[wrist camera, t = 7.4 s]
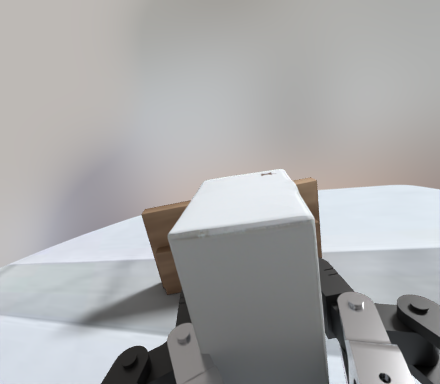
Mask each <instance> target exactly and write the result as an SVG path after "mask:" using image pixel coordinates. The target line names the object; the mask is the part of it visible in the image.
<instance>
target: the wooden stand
mask: <svg viewBox="0 0 440 384" xmlns="http://www.w3.org/2000/svg"><path fill="white" fill-rule="evenodd" d="M293 182H294V183H295V184H296V186H297V188H298V191H299V193H300V195H301V197H302V199H303V200H304V202H305V203H306V205H307V207H308V208H309V210H310V211H311V213H312V215H313V216H314V219H315V227H316V239H317V251H318V258H319V257H320V258H322V251H321V236H320V221H319V205H318V190H317V180H315V179H313V178H311V177H310V178H305V179H299V180H294V181H293ZM190 201H191V200H190ZM190 201H185V202H180V203H175V204H170V205H164V206H159V207H154V208H149V209H145V210H144V212H143V213H142V218H143V221H144V225H145V228H146V231H147V235H148V238H149V241H150V245H151V248H152V251H153V255H154V258H155V261H156V265H157V268H158V271H159V275H160V278H161V281H162V285H163V288H165V289H166V292H167V295H169V294H174V293H179V292H181V289H182V286H181V283H180V279H179V276H178V272H177V269H176V265H175V262H174V258H173V255H172V251H171V248H170V244H169V241H168V234H169V232H170V231H171V229H172V228H173V227H174V225H175V224H176V222H177V221H178V219H179V218H180V216H181V215H182V213H183V212H184V210H185V209H186V207H187V206H188V204H189V203H190Z"/></svg>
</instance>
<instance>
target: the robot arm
mask: <svg viewBox="0 0 440 384" xmlns="http://www.w3.org/2000/svg"><path fill="white" fill-rule="evenodd" d="M318 262H319V274H320V285H321V294H322V305H323V316H324V328H325V334H326V336H327V337H328V339H332V338H337V339H338V341H339V343H340V353H341V358H342V363H343V368H344V374H345V379H346V384H415V382H414V380H413V378H412V375H413V376H414V377H415V378H416V379H417V380H418V381H419V382H420V383H422V384H440V305H438V304H436V303H435V302H433V301H431V300H429V299H427V298H424V297H421V296H417V295H403V296H401V297H399V298H398V300H397V305H388V304H377V303H374V302H373V301H372V300H371V299H370V298H369V297H367V296H365V295H363V294H361V293H357V292H354V291H353V289H352V288H351V287H350V286H349V285H348V284H347V283H346V282H345V280H344V279H343V278H342V277H341V276H340V275H339V274H338V273H337V272H336V270H335V269H333V267H332V266H331V265H330V264H329V263H328V262H327V261H325V260H324V259H322V258H320V257H319V258H318ZM101 384H224V381H223V379H222V377H221V374H220V372H219V370H218V368H217V366H216V365H214V363H213V361H212V359H211V356H210V354H202V353H201V352H200V350H199V346H198V343H197V339H196V336H195V332H194V329H193V325H192V322H191V318H190V315H189V311H188V307H187V304H186V300H185V297H184V293H183V289H181V295H180V302H179V308H178V315H177V321H176V327H175V328H174V329H173V330H172V331H171V333H170V334H169V336H168V339H167V342H165V343H164V344H163V345H161V346H159V347H157V348H155V349H153V350H151V351H149V352H148V351H147V349H146V348H145V347H143V346H134V347H131V348H129V349H127V350H125V351H124V352H123V353H121V354H120V355H119V356H118V358H117V359H116V360H115V362H114V364H113V365H112V367H111V368H110V370H109V372H108V373H107V375H106V377H105V378H104V380H103V381H102V383H101Z"/></svg>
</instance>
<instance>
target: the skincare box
mask: <svg viewBox="0 0 440 384" xmlns="http://www.w3.org/2000/svg"><path fill="white" fill-rule="evenodd" d="M168 241H169V244H170V248H171V251H172V255H173V258H174V262H175V265H176V269H177V272H178V276H179V279H180V283H181V286H182V289H183V293H184V297H185V300H186V304H187V307H188V311H189V315H190V318H191V322H192V325H193V329H194V332H195V336H196V339H197V343H198V346H199V350H200V352H201V353H202V354H210V356H211V359H212V361H213V363H214V365H216V366H217V368H218V370H219V372H220V374H221V377H222V379H223V381H224V384H329V376H328V363H327V352H326V340H325V328H324V316H323V305H322V294H321V285H320V274H319V262H318V251H317V239H316V227H315V219H314V216H313V215H312V213H311V211H310V210H309V208H308V207H307V205H306V203H305V202H304V200H303V199H302V197H301V195H300V193H299V191H298V188H297V186H296V184H295V183H294V182H293V181H291V179H290V178H289V176H288V175H287V173H286V172H285V170H283V169H277V170H270V171H264V172H257V173H250V174H243V175H236V176H230V177H223V178H216V179H211V180H206V181H204V182H203V183H202V185H201V187H200V188H199V190H198V191H197V193H196V194H195V196H194V197H193V198H192V200H191V201H190V203H189V204H188V206H187V207H186V209H185V210H184V212H183V213H182V215H181V216H180V218H179V219H178V221H177V222H176V224H175V225H174V227H173V228H172V229H171V231H170V232H169V234H168Z"/></svg>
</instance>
